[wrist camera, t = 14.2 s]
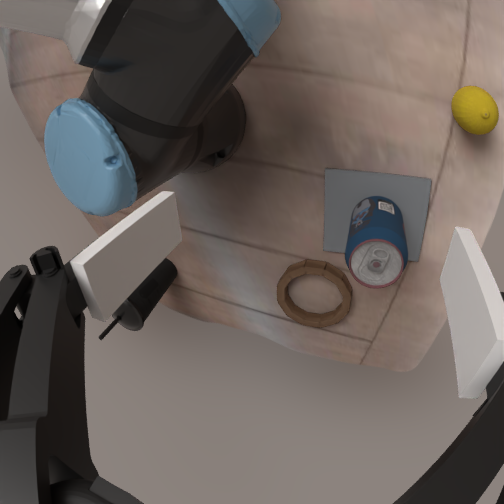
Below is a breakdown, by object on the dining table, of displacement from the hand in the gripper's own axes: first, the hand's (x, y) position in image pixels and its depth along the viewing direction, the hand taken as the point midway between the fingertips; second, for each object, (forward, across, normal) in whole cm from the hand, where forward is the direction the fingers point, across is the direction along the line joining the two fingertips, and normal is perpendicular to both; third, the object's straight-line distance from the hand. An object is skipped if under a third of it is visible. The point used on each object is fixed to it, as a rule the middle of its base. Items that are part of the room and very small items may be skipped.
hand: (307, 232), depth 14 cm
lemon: (+28, +15, +5) cm, 32 cm away
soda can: (+28, +5, -11) cm, 30 cm away
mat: (+28, +5, -11) cm, 31 cm away
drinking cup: (+28, -30, -27) cm, 50 cm away
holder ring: (+28, -2, -26) cm, 38 cm away
